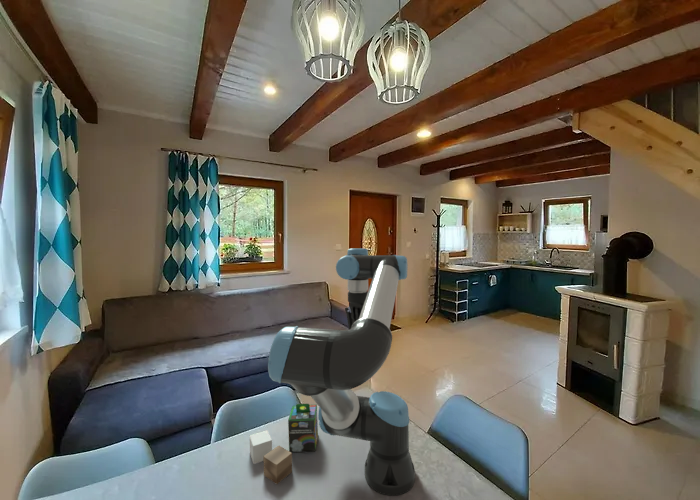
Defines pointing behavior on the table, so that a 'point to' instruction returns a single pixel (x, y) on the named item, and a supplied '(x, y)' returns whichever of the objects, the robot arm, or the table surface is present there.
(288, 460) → the walnut block
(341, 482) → the table surface
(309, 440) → the chalk box
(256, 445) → the white cube
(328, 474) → the table surface
